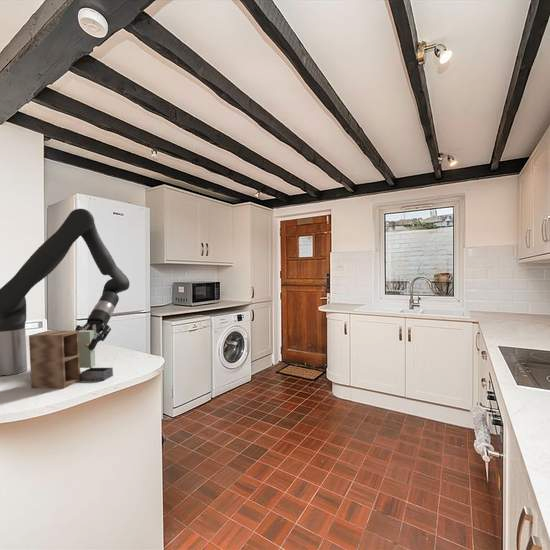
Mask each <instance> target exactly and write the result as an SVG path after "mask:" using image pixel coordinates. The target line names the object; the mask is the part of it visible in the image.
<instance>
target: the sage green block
mask: <svg viewBox="0 0 550 550" xmlns="http://www.w3.org/2000/svg"><path fill="white" fill-rule="evenodd" d="M78 335H79V357H80V369H84V368H85V369H89V368H95V366H96V347H95V348H94V349H93V350H89V349H88V347H89V345H90V343H91V341H92V339H93V337H94V330H80V331H78Z"/></svg>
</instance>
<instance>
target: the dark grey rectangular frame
mask: <svg viewBox="0 0 550 550" xmlns="http://www.w3.org/2000/svg"><path fill="white" fill-rule="evenodd" d="M113 368H114V367H92V368H86V369H85V370H83V371H80V374H79V375H80V381H106V380H108V379H109V378H111V377H113V376H114V372H113V371H114V370H113Z"/></svg>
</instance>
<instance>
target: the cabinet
mask: <svg viewBox="0 0 550 550" xmlns="http://www.w3.org/2000/svg"><path fill="white" fill-rule="evenodd" d="M28 342H29V343H28V345H29V363H30V383H31V384H30V385H31V386H30V387H31V389H65V388H67V387H69V386H71V385H74V384H76V383H78V382H79V381H80V375H79V374H80V373H81V368H80V357H79V335H78V331H75V330H45V331H42V332H38V333H33V334H31V335H30V334H29V335H28Z"/></svg>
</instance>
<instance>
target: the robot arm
mask: <svg viewBox="0 0 550 550" xmlns="http://www.w3.org/2000/svg"><path fill="white" fill-rule="evenodd" d="M80 237H81V238H82V240H83V241H84V243H85V245H86V246H87V248H88V250H89V252H90V256H92V259H93V261H94V263H95V265H96V266H97V268H98V270H99V271H100V273H101V275H102V276H109V277H111V278H110V279H108V280H107V281H106V282H105V284H104V285H103V290H102V295H101V296H100V298H99V300H98V301H97V303H96V304H95V305H94V307H93V309H92V311H91V312H90V314H89V315H88V317H87V321H86V323H85V324H84V325H82V326H81V325H78V324H77V325H76V326H75V329H74V331H80V330H94V337H93V339H92V341H91V343H90V345H89V347H88V349H89V350H93V349H94V348H95V349H96V347H97V345H98V343H99V342H103V341H105V340H106V338H107V337H108V335H109V334H110V332H111V330H112V328H111V327H110V325H108V324H109V322H110V319H111V318H112V316H113V313H114V312H115V308H116V307H117V305H118V303H119V300H120V297H119V295H118V294H119V293H122V292H125V291H127V290H129V288H130V280H129V278H128V276H127V275H126V274H125V273H124V272H123V271H122V270H121V269H120V268H119V267H118V266H117V264H116V262H115V260H114V259H113V256H112V255H111V253H110V251H109V249H107V247H106V245H105V244H104V242H103V240H102V238H101V237H100V234H99V232H98V230H97V226H96V223H95V218H94V215H93V214H92V213H91V212H90V211H89V210H87V209H84V208H75V209H73V210H72V211H70V213H69V214H68V215H67V216H66V218H65V220H64V221H63V223H61V225H60V227H59V228H58V229H56V231H55V232H54V233H53V234H52V235H50V236H49V237H48V238H47V239H46V240H45V241H44V242H43V243H42V244H40V246H39V247H37V249H36V250H35V251H34V252H33V254H32V255H30V256H29V258H28V259H27V260H26V261H25V262H24V264H23V265H22V266H21V267H20V268H19V270H18V271H17V272H16V273H15V275H14V276H13V277H11V279H10V280H9V281H7V282H6V283H5V284H4V285H3V286H2V287H0V375H6V376H12V374H13V375H17V374H21V373H24V372H26V371H27V370H28V357H27V356H28V355H27V354H28V353H27V338H26V335H27V334H26V321H27V298H26V295H28V293H29V292H30V291H31V290H32V288H34V286H36V285H37V284H38V283H39V282H41V281H42V280H43V279H45V278H46V277H47V276H49V275H50V274H51V273H52V272H53V271H54V270H55V269H56V268H57V267H58V266H59V264H61V262H62V261H63V260H64V258H65V257H66V255H67V254H68V253H69V251H70V249H71V248H72V246H73V245H74V243H75V241H76V240H77V241H78V238H80Z"/></svg>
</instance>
